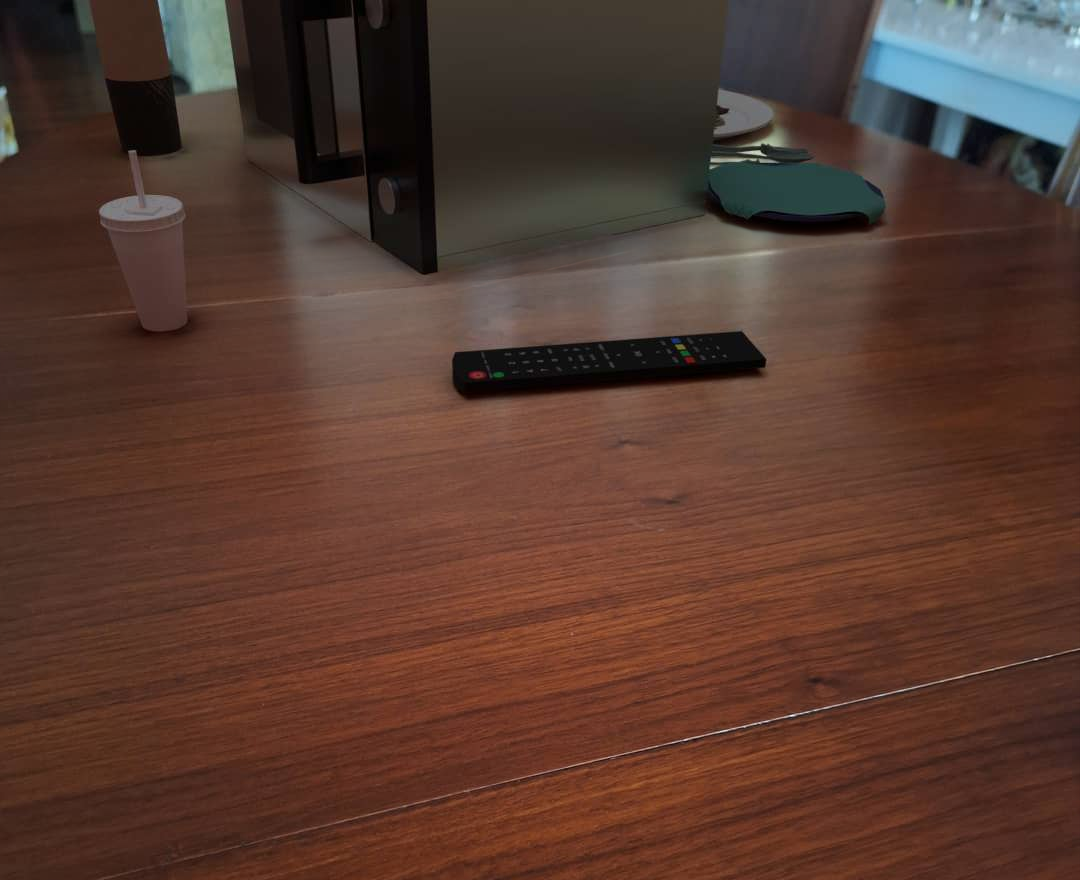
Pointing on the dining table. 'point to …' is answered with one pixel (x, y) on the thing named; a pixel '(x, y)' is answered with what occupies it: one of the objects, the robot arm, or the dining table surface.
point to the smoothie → (150, 253)
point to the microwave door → (305, 100)
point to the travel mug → (137, 75)
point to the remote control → (603, 361)
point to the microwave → (534, 121)
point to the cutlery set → (789, 187)
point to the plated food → (739, 115)
